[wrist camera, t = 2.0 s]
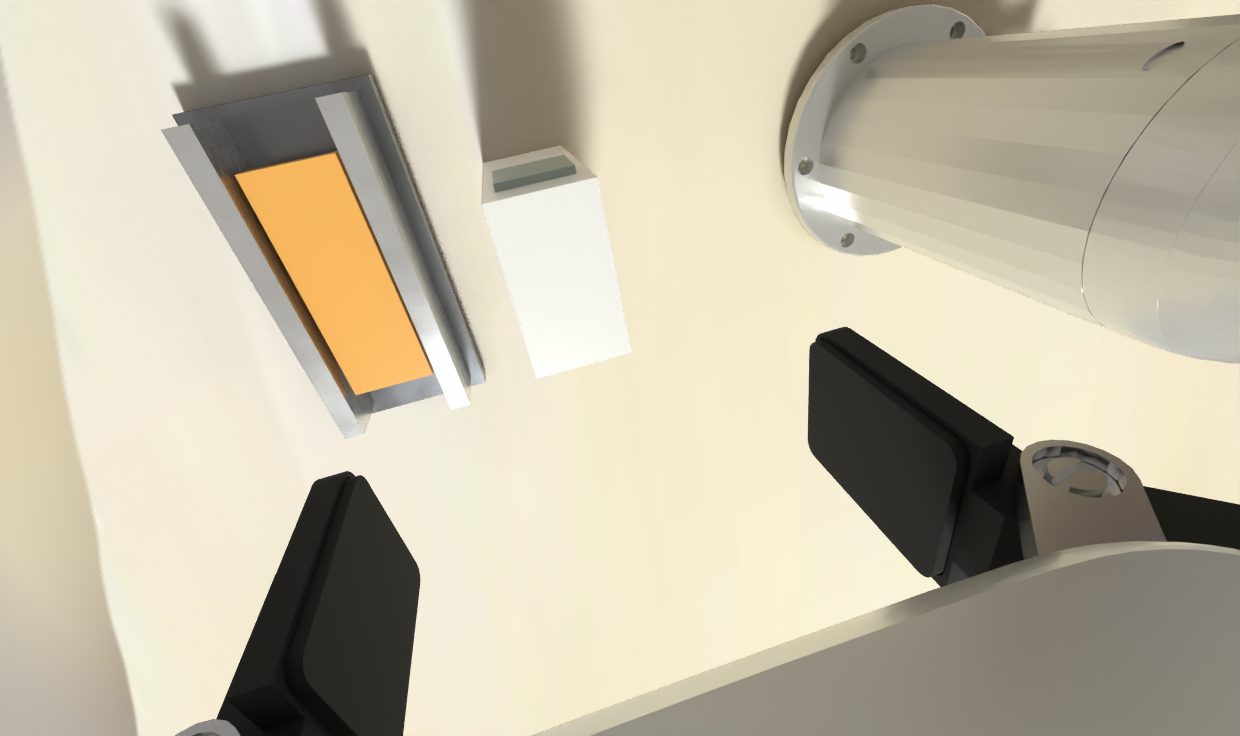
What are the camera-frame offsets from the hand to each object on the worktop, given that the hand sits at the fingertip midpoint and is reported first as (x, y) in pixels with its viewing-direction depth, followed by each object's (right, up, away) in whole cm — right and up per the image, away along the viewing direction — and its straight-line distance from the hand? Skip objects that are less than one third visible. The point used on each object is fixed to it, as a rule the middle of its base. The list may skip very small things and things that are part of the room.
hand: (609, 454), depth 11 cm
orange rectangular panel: (-13, +6, +14) cm, 20 cm away
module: (-4, +10, +17) cm, 20 cm away
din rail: (-13, +7, +16) cm, 22 cm away
